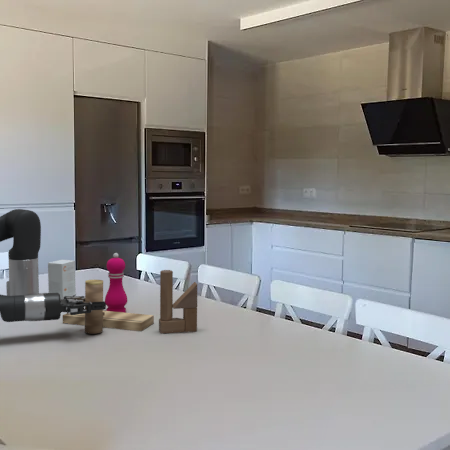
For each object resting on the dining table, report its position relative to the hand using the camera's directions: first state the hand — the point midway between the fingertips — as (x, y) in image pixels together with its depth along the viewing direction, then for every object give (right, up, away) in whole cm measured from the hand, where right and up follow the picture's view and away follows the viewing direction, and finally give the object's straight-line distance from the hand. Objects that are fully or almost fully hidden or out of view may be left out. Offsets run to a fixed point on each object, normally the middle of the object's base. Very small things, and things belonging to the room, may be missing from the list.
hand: (103, 303), depth 163 cm
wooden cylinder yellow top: (-2, -8, +1) cm, 8 cm away
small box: (-25, -4, +45) cm, 51 cm away
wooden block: (+21, -9, +2) cm, 23 cm away
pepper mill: (0, -7, +21) cm, 22 cm away
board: (0, -7, +10) cm, 12 cm away
